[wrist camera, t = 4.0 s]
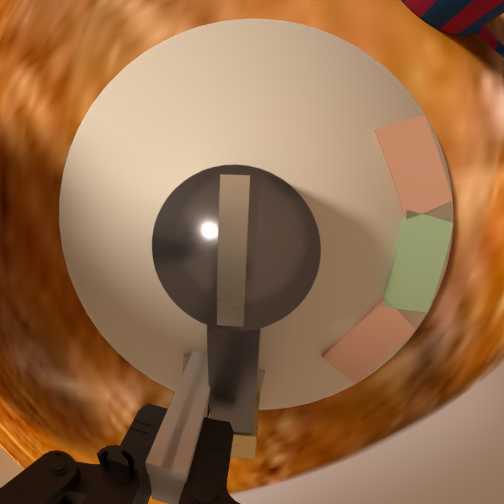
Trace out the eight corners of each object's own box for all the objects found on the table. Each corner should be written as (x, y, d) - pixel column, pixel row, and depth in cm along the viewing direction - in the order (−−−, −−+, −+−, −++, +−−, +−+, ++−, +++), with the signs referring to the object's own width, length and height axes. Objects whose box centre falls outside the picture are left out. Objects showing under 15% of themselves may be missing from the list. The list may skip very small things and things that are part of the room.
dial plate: (79, 348, 17) (66, 360, 15) (109, 34, 12) (95, 23, 10) (374, 406, 16) (381, 423, 14) (456, 89, 11) (472, 82, 10)
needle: (189, 169, 12) (148, 164, 8) (309, 174, 12) (329, 169, 8) (194, 404, 15) (175, 460, 11) (283, 413, 15) (284, 472, 10)
